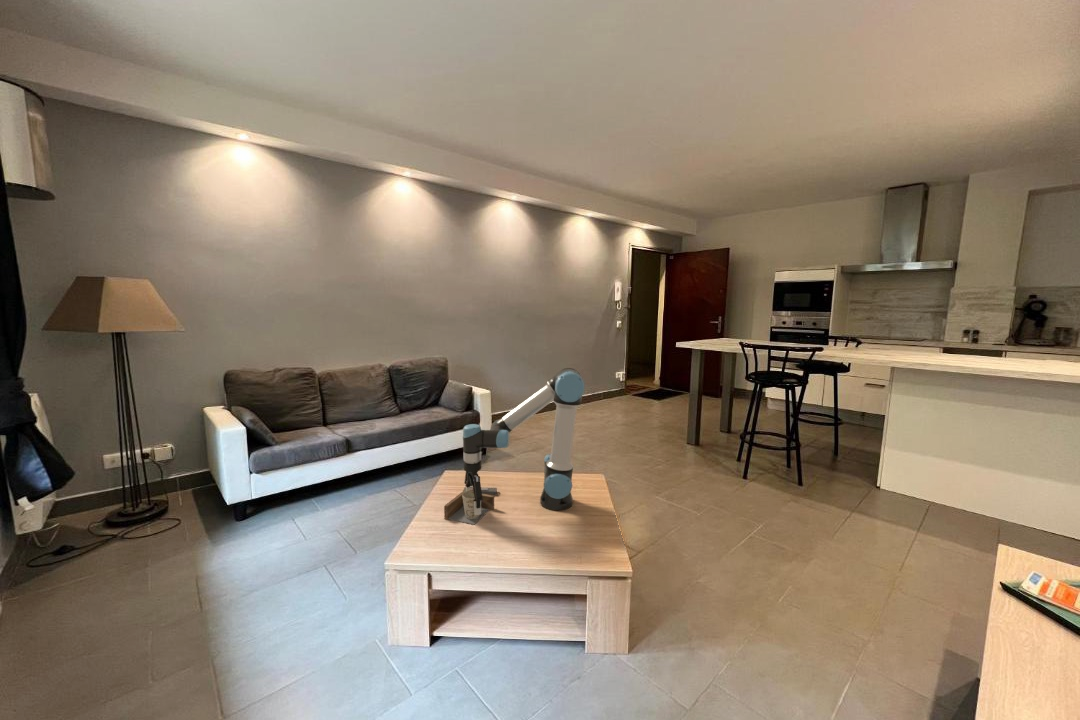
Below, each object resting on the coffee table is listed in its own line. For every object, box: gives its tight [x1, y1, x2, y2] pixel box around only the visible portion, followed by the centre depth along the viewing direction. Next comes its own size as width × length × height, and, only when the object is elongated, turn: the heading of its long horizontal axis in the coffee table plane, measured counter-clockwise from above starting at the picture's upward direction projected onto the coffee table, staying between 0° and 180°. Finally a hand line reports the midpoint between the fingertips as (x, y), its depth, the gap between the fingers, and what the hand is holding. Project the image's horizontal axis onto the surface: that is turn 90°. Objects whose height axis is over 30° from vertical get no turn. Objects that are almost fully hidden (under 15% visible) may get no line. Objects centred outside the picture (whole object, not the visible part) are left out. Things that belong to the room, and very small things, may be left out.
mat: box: [448, 506, 491, 526], centre depth 186 cm, size 13×14×1 cm
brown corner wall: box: [443, 490, 495, 521], centre depth 187 cm, size 16×16×6 cm
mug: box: [462, 490, 479, 519], centre depth 186 cm, size 8×13×10 cm, turn 170°
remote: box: [462, 486, 498, 496], centre depth 207 cm, size 16×4×2 cm, turn 89°
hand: (473, 507), depth 185 cm, fingers open, 13 cm apart
